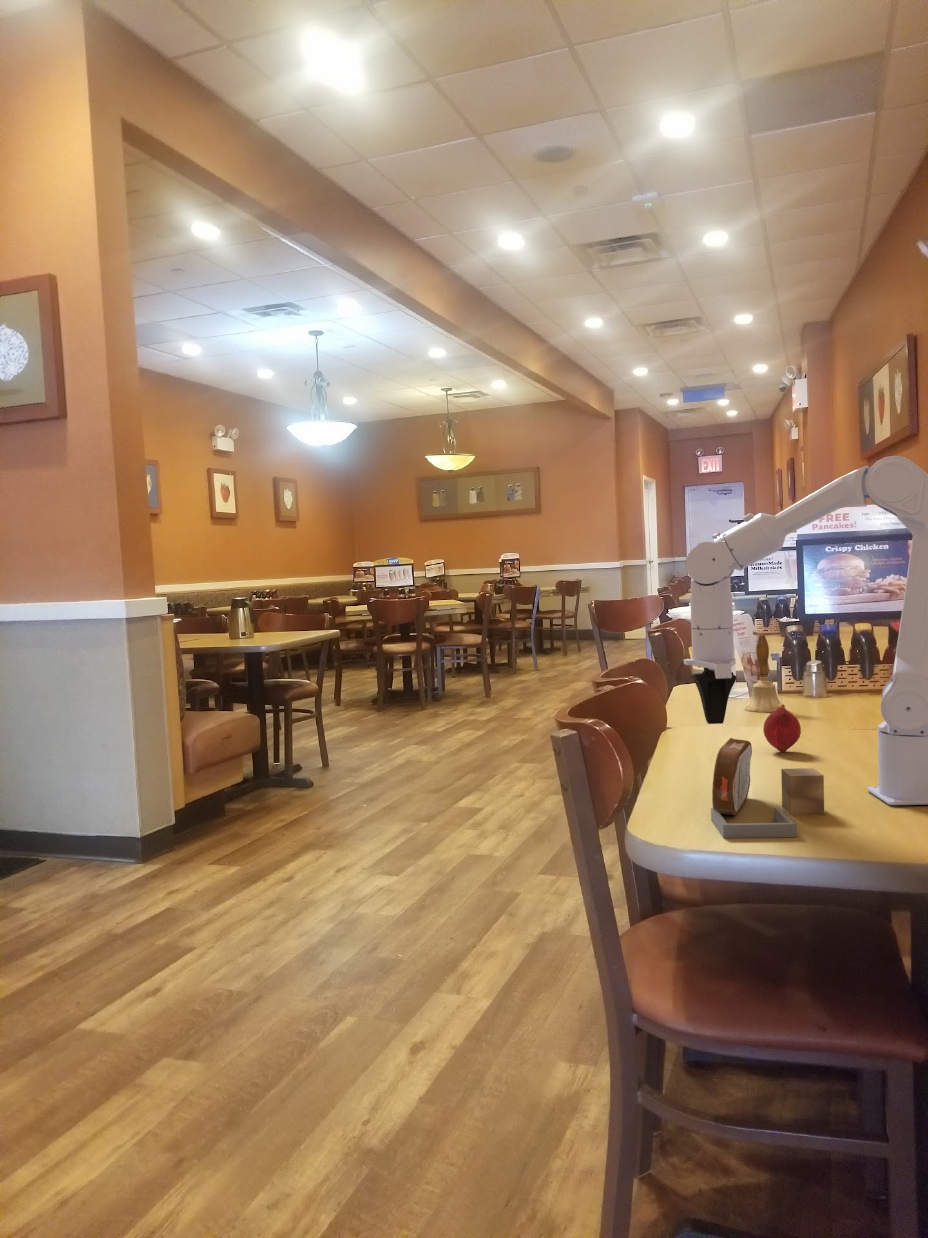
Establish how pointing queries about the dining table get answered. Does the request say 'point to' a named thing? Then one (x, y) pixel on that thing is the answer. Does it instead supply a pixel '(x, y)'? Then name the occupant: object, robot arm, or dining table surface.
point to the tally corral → (755, 826)
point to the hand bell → (763, 683)
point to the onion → (782, 729)
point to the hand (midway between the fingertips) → (714, 723)
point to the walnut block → (802, 791)
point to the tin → (731, 776)
